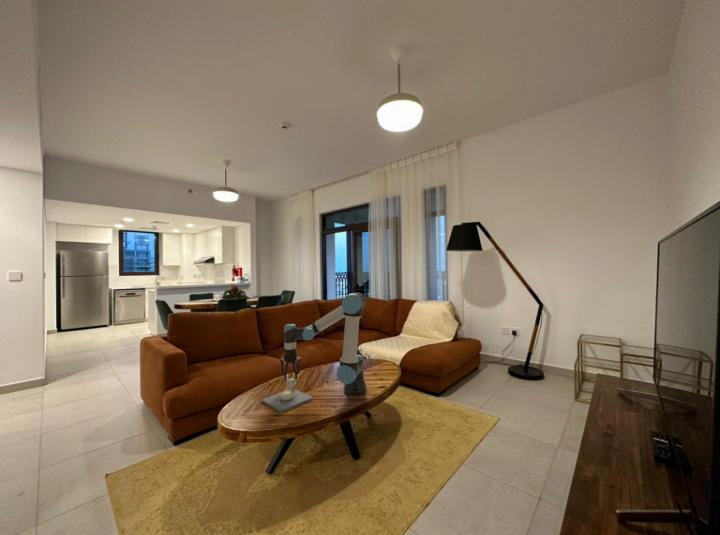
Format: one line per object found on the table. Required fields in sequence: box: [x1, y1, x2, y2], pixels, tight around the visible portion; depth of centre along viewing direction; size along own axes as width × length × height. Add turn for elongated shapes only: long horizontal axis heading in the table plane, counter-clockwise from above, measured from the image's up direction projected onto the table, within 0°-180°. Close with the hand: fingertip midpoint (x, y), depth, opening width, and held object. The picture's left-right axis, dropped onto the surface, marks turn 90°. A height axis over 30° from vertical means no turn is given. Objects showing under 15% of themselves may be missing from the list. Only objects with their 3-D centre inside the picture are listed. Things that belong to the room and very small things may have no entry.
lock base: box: [261, 388, 314, 414], centre depth 174 cm, size 22×22×2 cm
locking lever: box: [280, 378, 295, 401], centre depth 178 cm, size 17×8×7 cm, turn 1°
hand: (291, 384), depth 185 cm, fingers closed on locking lever, 4 cm apart
